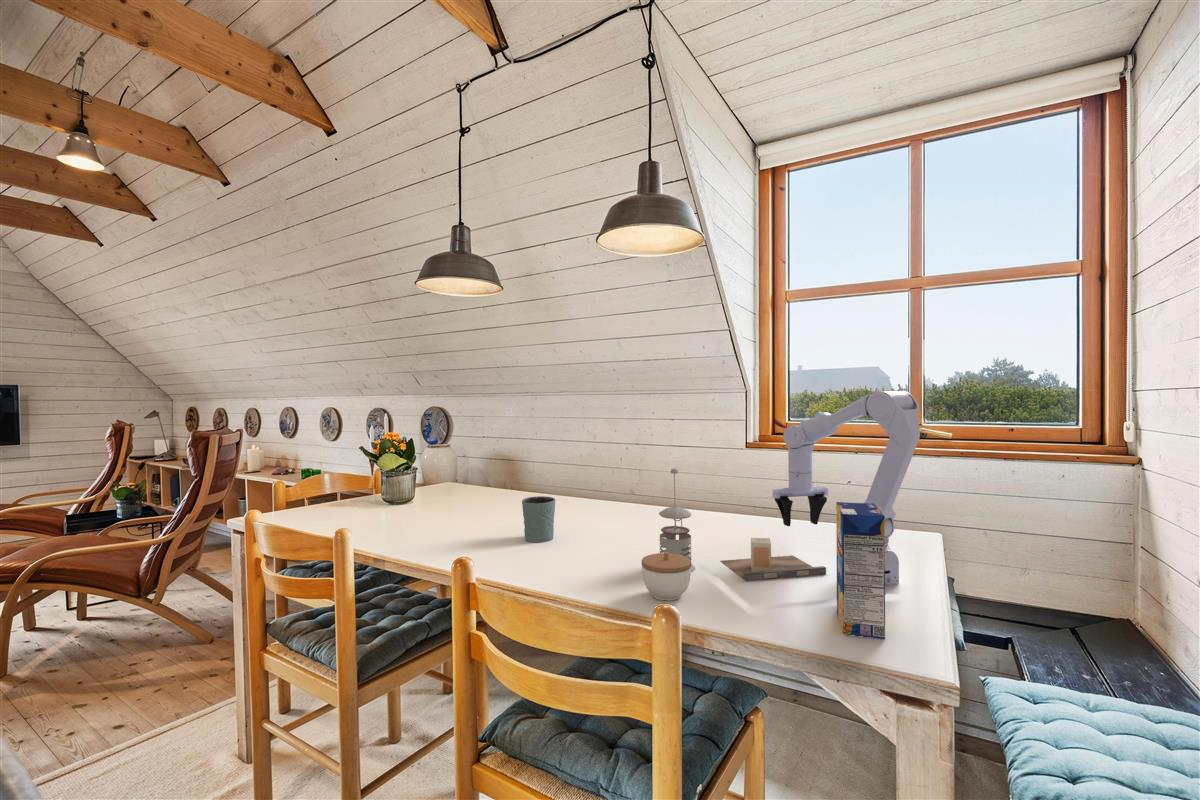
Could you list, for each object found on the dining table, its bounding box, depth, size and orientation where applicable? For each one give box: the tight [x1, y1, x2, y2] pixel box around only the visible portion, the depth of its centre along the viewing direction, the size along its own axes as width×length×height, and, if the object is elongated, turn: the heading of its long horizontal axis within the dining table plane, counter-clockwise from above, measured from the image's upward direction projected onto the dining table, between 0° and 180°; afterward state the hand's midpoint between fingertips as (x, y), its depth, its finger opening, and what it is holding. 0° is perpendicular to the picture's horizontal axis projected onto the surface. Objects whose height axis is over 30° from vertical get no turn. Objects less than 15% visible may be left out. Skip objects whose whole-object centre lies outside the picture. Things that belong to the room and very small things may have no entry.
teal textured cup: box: [521, 495, 556, 544], centre depth 168 cm, size 10×10×12 cm
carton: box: [750, 537, 772, 572], centre depth 133 cm, size 5×4×7 cm
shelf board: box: [719, 554, 827, 582], centre depth 135 cm, size 15×20×3 cm
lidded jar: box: [641, 552, 692, 602], centre depth 121 cm, size 11×11×9 cm
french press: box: [658, 468, 696, 573], centre depth 140 cm, size 10×12×25 cm
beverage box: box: [835, 501, 886, 640], centre depth 104 cm, size 7×11×22 cm, turn 162°
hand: (800, 524), depth 143 cm, fingers open, 7 cm apart
